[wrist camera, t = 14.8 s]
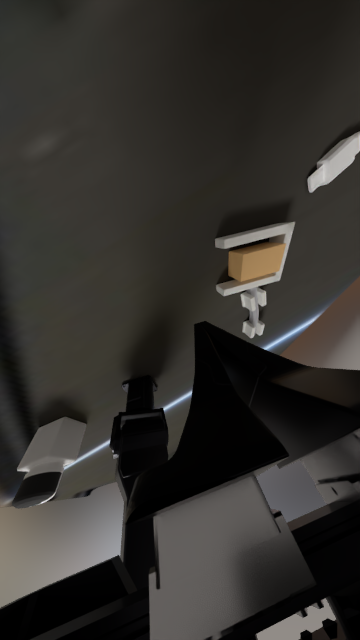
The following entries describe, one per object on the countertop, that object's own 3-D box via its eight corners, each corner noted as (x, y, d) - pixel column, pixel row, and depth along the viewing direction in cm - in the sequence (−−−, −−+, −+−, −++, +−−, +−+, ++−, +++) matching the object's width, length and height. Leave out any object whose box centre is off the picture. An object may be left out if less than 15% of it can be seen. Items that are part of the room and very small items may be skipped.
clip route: (254, 329, 30) (262, 336, 28) (236, 335, 29) (243, 342, 27) (265, 277, 23) (276, 281, 21) (241, 283, 22) (250, 288, 20)
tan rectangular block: (261, 266, 22) (279, 271, 19) (227, 275, 21) (240, 281, 18) (265, 241, 20) (286, 243, 17) (228, 251, 19) (243, 254, 16)
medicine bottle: (38, 427, 31) (-9, 515, 22) (65, 415, 31) (30, 498, 21) (63, 434, 35) (34, 510, 26) (87, 423, 35) (66, 496, 26)
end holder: (267, 275, 23) (279, 280, 21) (216, 290, 22) (223, 296, 20) (278, 223, 18) (295, 221, 16) (215, 238, 18) (224, 239, 16)
